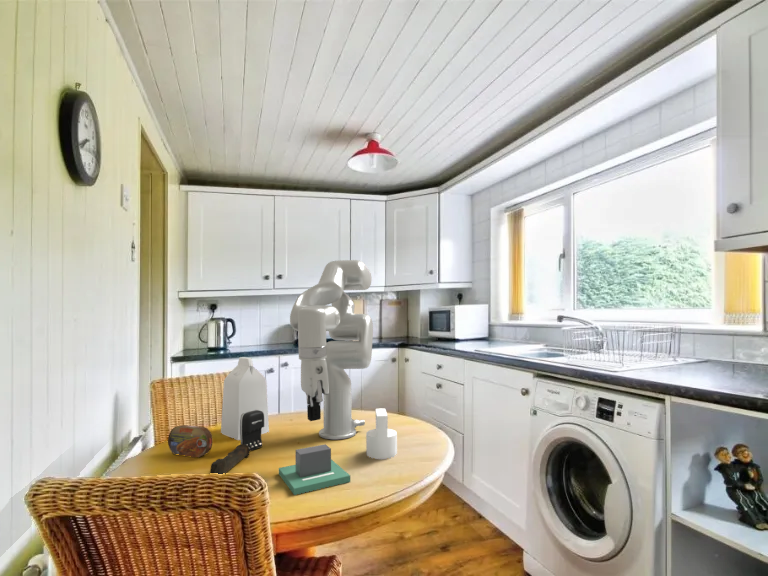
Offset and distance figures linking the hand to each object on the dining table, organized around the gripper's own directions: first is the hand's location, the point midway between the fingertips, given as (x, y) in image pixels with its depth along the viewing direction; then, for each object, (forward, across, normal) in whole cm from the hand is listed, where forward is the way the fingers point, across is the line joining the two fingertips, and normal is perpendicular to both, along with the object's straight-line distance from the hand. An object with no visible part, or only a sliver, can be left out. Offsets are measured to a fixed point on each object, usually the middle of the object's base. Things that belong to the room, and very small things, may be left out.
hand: (314, 419), depth 109 cm
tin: (+13, +27, +29) cm, 42 cm away
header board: (+12, -8, +3) cm, 15 cm away
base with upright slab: (+13, -2, -20) cm, 24 cm away
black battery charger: (+13, +22, +12) cm, 28 cm away
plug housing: (+10, -8, +3) cm, 13 cm away
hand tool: (+12, +9, +21) cm, 26 cm away
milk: (+14, +41, +11) cm, 45 cm away
